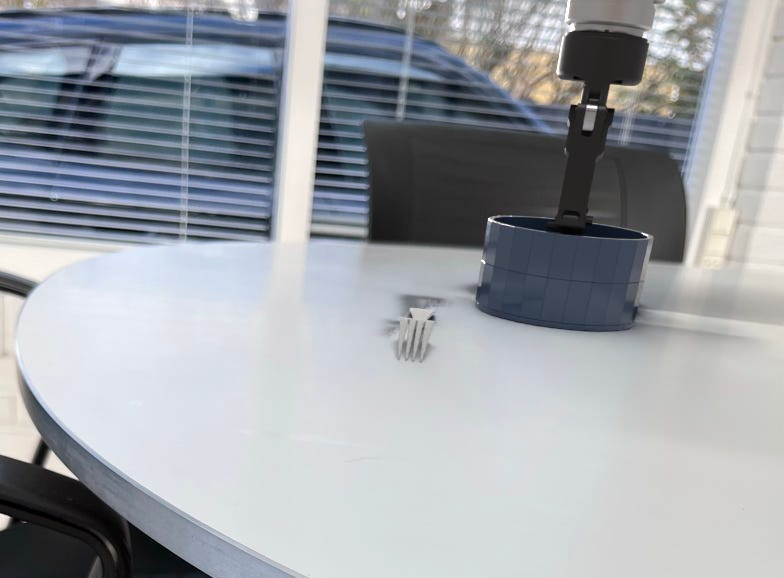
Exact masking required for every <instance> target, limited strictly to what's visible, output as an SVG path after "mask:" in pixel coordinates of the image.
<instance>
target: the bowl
mask: <svg viewBox="0 0 784 578" xmlns="http://www.w3.org/2000/svg"><path fill="white" fill-rule="evenodd" d="M554 221H555V218H551V217H542V216H541V217H540V216H528V215H527V216H525V215H495V216H490V217H488V218H487V224H486V229H485V237H484V243H483V248H482V249H483V250H482V254H481V255H482V256H481V261H480V268H479V274H478V281H477V288H476V293H475V302H474V303H475V304H474V305H475V308H477V309H478V310H480V311H481V312H484V313H486V314H488V315H491V316H494V317H498V318H501V319H505V320H508V321H513V322H517V323H522V324H526V325H527V324H528V325H533V326H540V327H546V328H552V329H554V328H555V329H562V330H563V329H564V330H572V331H584V330H586V331H588V332H614V331H616V330H617V331H625V330H628V329H631V328H632V327H634V325H635V322H636V320H637V315H638V310H639V307H640V301H641V298H642V297H641V296H642V293H643V288H644V284H645V280H646V274H647V270H648V265H649V262H650V257H651V253H652V248H653V244H654V239H655V238H654V236H653V235H652V234H649V233H646V232H643V231H640V230H636V229H630V228H625V227H620V226H615V225H609V224H602V223H595V222H592V226H588V225H585V230H584V235H583V236H576V235H568V234H559V233H553V232H549V231H546V229H547V223H548V222H554ZM554 223H555V222H554Z"/></svg>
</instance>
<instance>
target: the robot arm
mask: <svg viewBox="0 0 784 578" xmlns="http://www.w3.org/2000/svg"><path fill="white" fill-rule="evenodd" d="M567 1H568V2H567V5H566V6H567V7H566V13H565V16H564V17H565V18H564V22H565V23H566V25H568V26H570V29H569V31H566V32H565V34H564V35H562V38H561V44H560V50H559V54H558V55H559V56H558V62H557V67H556V76H557V78H558V79H560V80H563V81H570V82H580V83H583V86H582V90H581V91H582V92H581V97H580V102H578V103H577V104H573V103H570V104H569V105H570V106H569V111H568V116H567V127H568V131H567V136H566V142H565V146H564V147H565V148H564V155H565V157H566V158H567V161H566V165H565V170H564V171H565V172H564V177H563V182H562V188H561V193H560V198H559V203H558V208H557V214H556V215H555V216H554V219H555V221H554V222H555V223H554V222H548V223H547V229H546V231H549V232H553V233H559V234H568V235H576V236H583V235H584V230H585V225H588V226H592V223H593V221H594V216H593V215H588V214H589V209H590V207H589V201H590V196H591V192H592V185H593V182H594V181H593V180H594V176H595V171H596V164H597V162H598V161H600V160H602V159H603V156H604V153H605V148H606V143H607V137H608V133H609V132H610V131H611V129H612V125H613V122H614V117H615V113H616V108H614V107H608V105H607V104H608V98H609V93H610V87H611V85H612V86H623V87H635V86H638V85H639V84H641V82H642V80H643V77H644V72H645V68H646V63H647V58H648V52H649V49H650V43H649V42H648V41H649V39H648V38H645V37H644V33H646V32H649V31H650V30H652V29H653V25H654V19H655V15H656V7H655V5H664V3H666V2H667V1H666V0H567Z"/></svg>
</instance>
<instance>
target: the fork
mask: <svg viewBox="0 0 784 578" xmlns="http://www.w3.org/2000/svg"><path fill="white" fill-rule="evenodd" d="M409 312H410V314H411V317H404V316H400V317H399V329H398V331H399V332H398V341H397V342H398V343H397V344H398V345H397V360H400V359H401V355H402V350H403V345H404V341H405V337H406V332H407V338H406V347H405V361H408V358H409V354H410V352H411V351H410V350H411V346H412V343H413V349H412V358H411V359H412V362H414V361H415V358H416V355H417V352H418V348H419V346H420V340H421V336H422V342H421V350H420V358H419V362H420V363H422V362H423V359H424V356H425V353H426V349H427V347H428V343H429V340H430V337H431V334H432V330H433V327H434V324H435V323H436V321H435V320H430V318H431V317H432V316H434V315H435V314H436V313H437V311H436V310H435V309H426V308H418V307H409ZM407 328H408V329H407ZM423 328H424V329H423ZM414 333H415V335H414ZM422 333H423V335H422ZM413 338H414V341H413Z"/></svg>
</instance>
